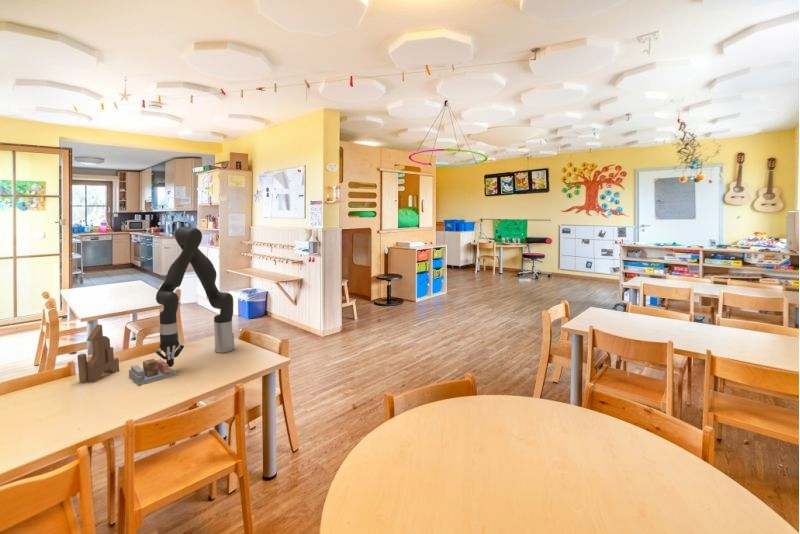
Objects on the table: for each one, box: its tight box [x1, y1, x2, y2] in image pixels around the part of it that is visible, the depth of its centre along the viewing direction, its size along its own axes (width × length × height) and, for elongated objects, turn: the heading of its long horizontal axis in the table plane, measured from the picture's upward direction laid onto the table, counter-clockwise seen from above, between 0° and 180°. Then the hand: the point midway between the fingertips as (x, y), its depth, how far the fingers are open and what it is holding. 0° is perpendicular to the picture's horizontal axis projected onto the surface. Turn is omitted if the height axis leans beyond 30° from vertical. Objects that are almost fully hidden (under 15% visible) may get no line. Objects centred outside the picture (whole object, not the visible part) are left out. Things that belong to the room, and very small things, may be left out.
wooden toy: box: [77, 324, 120, 384], centre depth 183 cm, size 15×7×25 cm, turn 172°
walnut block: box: [142, 358, 158, 377], centre depth 185 cm, size 4×5×6 cm
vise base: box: [128, 364, 178, 386], centre depth 186 cm, size 16×14×6 cm
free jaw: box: [155, 358, 170, 374], centre depth 189 cm, size 2×13×4 cm, turn 50°
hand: (170, 366), depth 192 cm, fingers closed
